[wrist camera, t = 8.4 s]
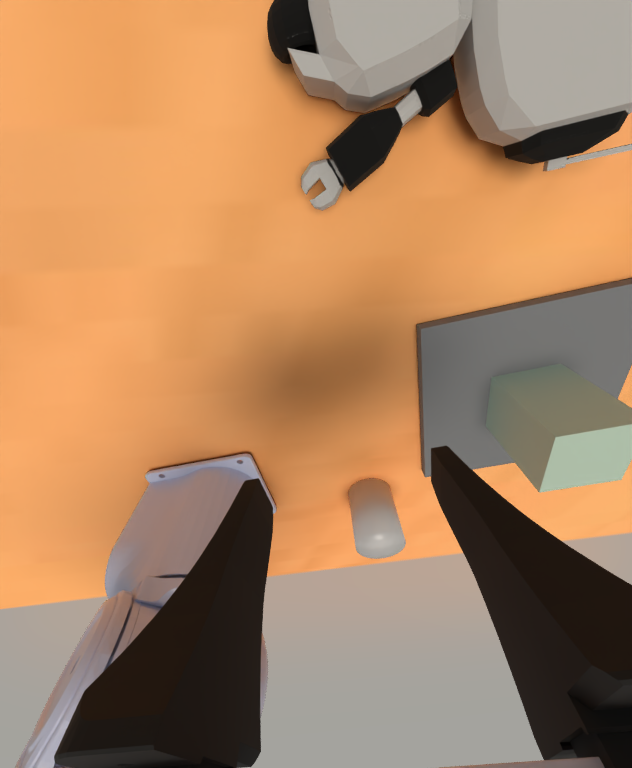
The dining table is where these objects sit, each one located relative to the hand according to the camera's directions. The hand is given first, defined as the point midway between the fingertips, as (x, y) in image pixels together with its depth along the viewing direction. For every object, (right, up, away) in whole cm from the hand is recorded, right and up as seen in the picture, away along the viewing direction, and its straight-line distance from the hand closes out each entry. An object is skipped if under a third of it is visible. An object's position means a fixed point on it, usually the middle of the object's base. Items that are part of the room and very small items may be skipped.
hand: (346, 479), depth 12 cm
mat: (+14, +3, +9) cm, 17 cm away
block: (+13, +3, +9) cm, 16 cm away
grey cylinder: (+4, -6, +15) cm, 17 cm away
